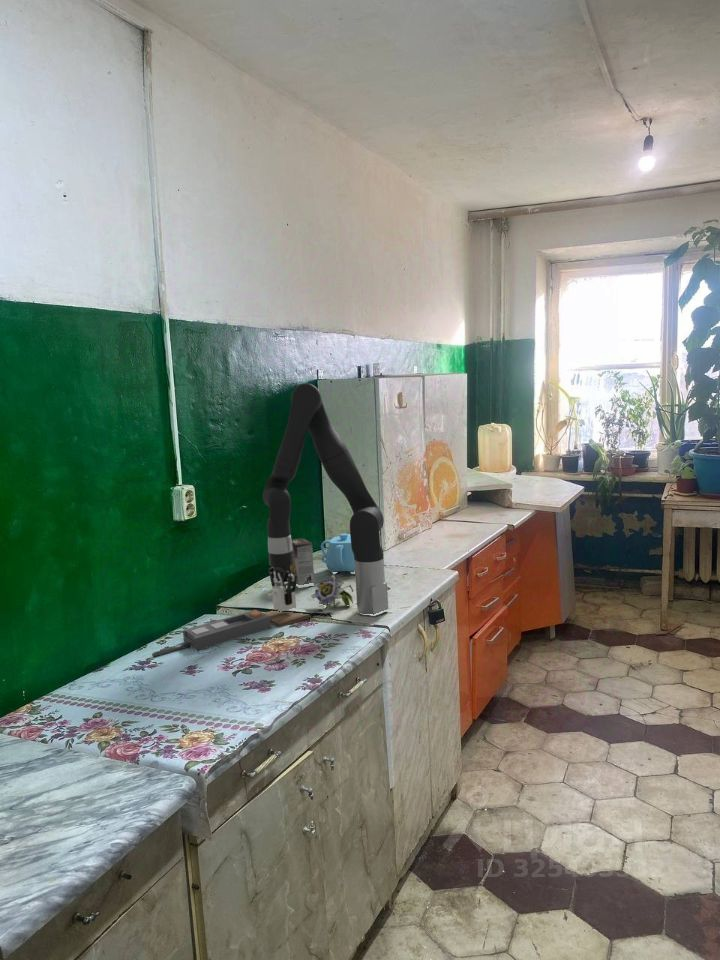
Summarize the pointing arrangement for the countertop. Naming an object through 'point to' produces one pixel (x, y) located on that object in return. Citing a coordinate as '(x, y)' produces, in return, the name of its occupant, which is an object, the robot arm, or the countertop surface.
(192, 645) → the power strip
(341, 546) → the teapot
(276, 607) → the block
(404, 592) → the countertop surface
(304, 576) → the coffee box
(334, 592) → the passion flower
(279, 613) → the walnut pad
